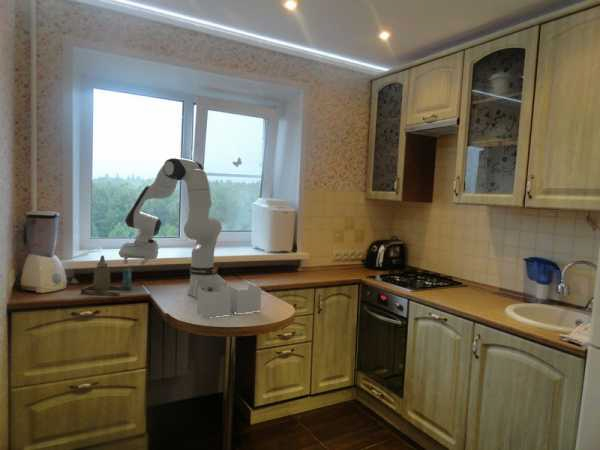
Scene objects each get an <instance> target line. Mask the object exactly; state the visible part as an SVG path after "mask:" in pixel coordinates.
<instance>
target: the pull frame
mask: <svg viewBox="0 0 600 450" xmlns="http://www.w3.org/2000/svg"><path fill="white" fill-rule="evenodd" d="M132 289H133V286H132V268H123V269H122V285H110V288H109V290H122V291H123V290H124V291H132ZM109 290H108V291H95V289H94V286H93V283H92V284H89V285H87V286H84V287H81V288H80V294H81V295H82V294H83V295H96V296H97V295H98V296H99V295H100V296H115V297H118V296H120V295H121V292H120V291H109Z"/></svg>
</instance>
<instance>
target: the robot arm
mask: <svg viewBox="0 0 600 450" xmlns="http://www.w3.org/2000/svg"><path fill="white" fill-rule="evenodd" d="M179 181H184V182H185V183H186V184H185V185H186V189H187V198H188V208H189V209H188V215H187V220H186V223H185V224H184V228H183V232H184V234H185V236H186V237H187V238H188V239H189V240H193V241H196V242H195V244H194V247H193V248H192V250H191V264H190V267H189V268H190V269H189V277H190V279H189V285H188V290H187V293H186V294H187V295H188V296H191V297H193V298H195V299H197V294H198V287H201V289H202V290H203V291H205V292H206V293H211V292H219V290H220V286H224V287H225V288H227V289H228V286H229V285H228V283H227V281H226V279H224V278H222V277H221V275H219V274H218V269H219V268H218V267H216V266H214V264H215V263H214V260H215V249H216V245H217V241H218V238H219V235H220V233H221V231H222V224H221V222H220V221H219V219H216V218H213V217H210V216H209V214H210V208H211V207H212V205H213V204H212V196H211V189H210V184H209V179H208V175H207V173H206V171H205V170H204V167H203V165H202V163H201V162H199V161H197V160H194V159H193V160H192V159H187V158H179V157H178V158H176V157H173V158H172V157H171V158H169V159H166V160H165V162H164V163H163V164H162V166H161V167H160V169H159V171H158V173H157V174H156V177H155V179H154V181H153V182H152V183H151V184H150V185H146V186H145V187H144V189H143V190H142V191H141V193H140V195H139V196H138V198H137V200H136V201H135V202H134V204H133V206H132V208H131V209H130V210H129V211H128V213H127V214H126V215H125V219H124V220H125V221H124V222H125V224H126V226H127V227H129V228H133V229H137V230H138V234H137V235H136V237H135V239H134V241H133V242H126V243H123V244H122V246H121V247H120V249H119V250H118V255H119V257H120V258H121V259H124V261H123V264H124V265H128V264H129V260H128V259H136V260H137V259H138V260H139V259H140V260H141V259H142V260H141V262H140V264H141V266H145V265H146V263H147V262H149V261H150V260H156V259H157V258H158V254H159V248H160V247H159V243H158V242H157V241H156V240H155V239H154V238H155V236H157V235H158V234H159V231H160V230H161V227H162V224H163V223H162V220H161V219H160V217H157V216H155V215H152V214H149V213H145V212H143V211H141V209H142V207H143V206H144V204H145V202H146V201H147V200H151V199H152V200H153V199H157V200H158V199H159V200H161V199H163V200H164V199H168V198H170V197H171V196H172V195H173V194H174V192H175V190H176V187H177V185H178V182H179Z"/></svg>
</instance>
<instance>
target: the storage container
mask: <svg viewBox="0 0 600 450" xmlns="http://www.w3.org/2000/svg"><path fill="white" fill-rule="evenodd" d="M227 286H228V289H227V288H225V287H224V286H220V290H219V292H211V293H206V292H205V291H203V290H202V289H201V287H198V294H197V298H196V301H197V302H196V304H197V305H196V313H197V312H198V313H197V314H199V313H200V314H201V315H202V316H203V317H204V318H210V317H216V316H223V315H230V316H231V313H232V311H234V312H236V313H237V314H238V313H245V312H252V311H258V310H260V311H261V309H262V308H261V303H262V288H261V287H259V286H257V285H255V284H253V283H248V289H237V288H235V287H234V286H232V285H231V284H229V285H227ZM231 310H232V311H231ZM200 314H199V315H200ZM201 315H200V316H201ZM202 316H201V317H202ZM203 317H202V318H203ZM204 318H203V319H204Z"/></svg>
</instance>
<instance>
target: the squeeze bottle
mask: <svg viewBox="0 0 600 450" xmlns="http://www.w3.org/2000/svg"><path fill="white" fill-rule="evenodd" d="M96 263H97V264H96V267H95V268H94V271H93V273H94V274H93V281H92V284H93V286H94V289H95V290H94V291H109V290H110V289H109V288H110V285H111V284H112V282H111V271H110V267H109V266H108V262H106V260H105V255H101V256H100V260H99V262H96Z"/></svg>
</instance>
